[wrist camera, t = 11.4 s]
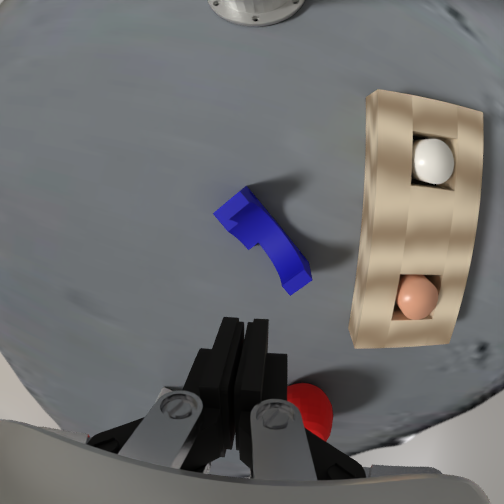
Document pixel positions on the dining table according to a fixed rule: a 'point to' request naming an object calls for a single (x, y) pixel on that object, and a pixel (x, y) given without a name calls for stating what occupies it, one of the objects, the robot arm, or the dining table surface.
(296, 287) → the cable clip
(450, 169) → the white domed cylinder
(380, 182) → the housing
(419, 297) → the peach rounded piece
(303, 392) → the tomato
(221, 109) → the dining table surface
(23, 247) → the dining table surface
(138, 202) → the dining table surface
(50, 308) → the dining table surface
